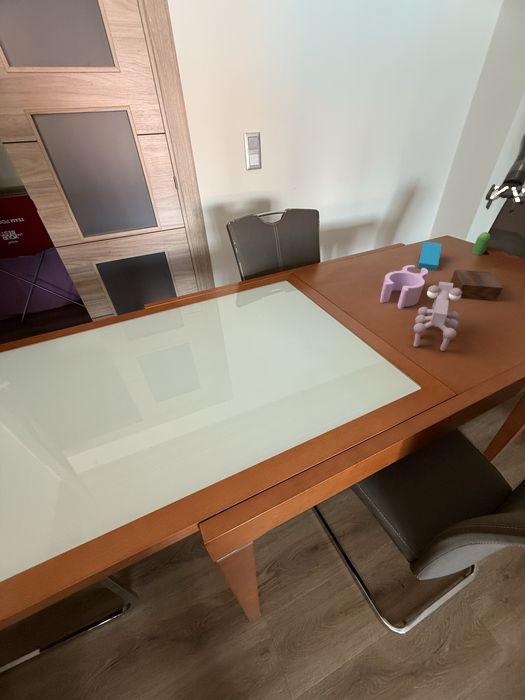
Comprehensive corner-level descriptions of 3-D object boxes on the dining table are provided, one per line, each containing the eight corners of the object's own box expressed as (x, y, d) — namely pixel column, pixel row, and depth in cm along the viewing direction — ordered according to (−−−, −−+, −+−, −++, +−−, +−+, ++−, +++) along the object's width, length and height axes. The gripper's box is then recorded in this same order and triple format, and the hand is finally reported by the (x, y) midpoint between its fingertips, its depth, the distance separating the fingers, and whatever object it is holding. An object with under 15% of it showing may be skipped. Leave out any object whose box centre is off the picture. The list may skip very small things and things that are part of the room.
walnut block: (485, 284, 111) (491, 272, 108) (496, 301, 102) (503, 287, 99) (450, 281, 114) (454, 269, 111) (457, 297, 105) (462, 284, 102)
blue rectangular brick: (432, 279, 126) (437, 252, 134) (438, 265, 120) (442, 238, 129) (414, 276, 128) (420, 250, 137) (419, 263, 122) (425, 236, 131)
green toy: (481, 251, 134) (490, 230, 129) (484, 255, 131) (494, 234, 125) (470, 250, 135) (478, 230, 130) (473, 254, 132) (481, 234, 126)
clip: (397, 279, 117) (402, 262, 113) (430, 289, 110) (437, 271, 106) (373, 299, 106) (377, 281, 102) (408, 311, 99) (414, 293, 95)
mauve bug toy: (416, 311, 99) (429, 273, 91) (452, 319, 95) (469, 279, 87) (406, 345, 86) (421, 304, 77) (448, 356, 82) (468, 314, 73)
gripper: (499, 167, 129) (481, 202, 130) (540, 170, 122) (520, 207, 122) (496, 179, 135) (479, 212, 136) (535, 182, 128) (516, 218, 129)
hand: (498, 210), depth 129 cm, fingers open, 8 cm apart
